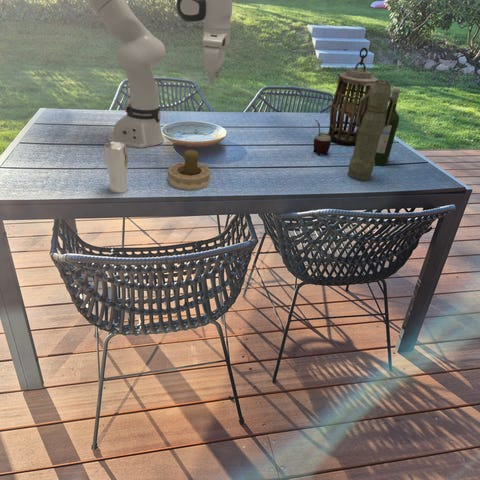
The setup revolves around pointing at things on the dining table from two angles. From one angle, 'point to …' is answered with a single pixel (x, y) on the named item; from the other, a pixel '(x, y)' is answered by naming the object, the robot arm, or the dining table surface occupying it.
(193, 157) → the dark brown rounded piece
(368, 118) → the thermos
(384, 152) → the wine bottle
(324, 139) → the mate gourd
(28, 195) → the dining table surface
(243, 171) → the dining table surface
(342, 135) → the lantern
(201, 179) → the tan faceted ring
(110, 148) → the beer glass
